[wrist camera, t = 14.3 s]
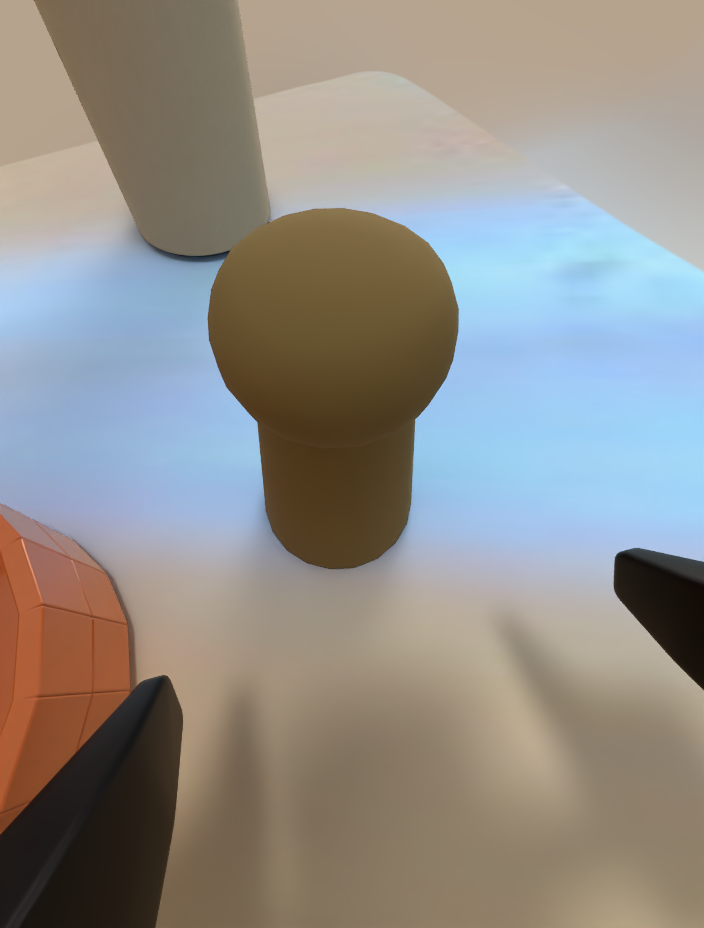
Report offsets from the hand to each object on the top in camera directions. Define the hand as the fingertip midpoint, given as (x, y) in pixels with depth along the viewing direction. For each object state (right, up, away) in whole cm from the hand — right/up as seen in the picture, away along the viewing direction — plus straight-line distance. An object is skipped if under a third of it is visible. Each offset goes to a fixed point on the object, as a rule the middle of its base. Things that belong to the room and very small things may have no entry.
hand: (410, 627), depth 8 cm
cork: (-2, +2, +9) cm, 10 cm away
